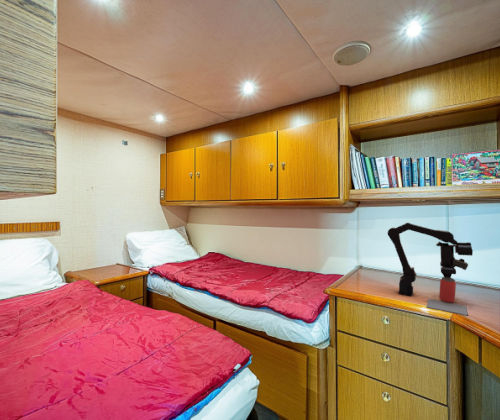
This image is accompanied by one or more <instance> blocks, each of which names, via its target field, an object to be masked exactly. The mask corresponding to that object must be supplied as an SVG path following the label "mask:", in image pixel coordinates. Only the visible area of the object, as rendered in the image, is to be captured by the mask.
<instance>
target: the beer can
mask: <svg viewBox="0 0 500 420" xmlns="http://www.w3.org/2000/svg"><path fill="white" fill-rule="evenodd" d="M456 283H457V282H456V280H455V279H454V278H452V277H451V278H449V277H444V276H443V277H441V279H440V281H439V295H438V296H439V299H440V301H443V302H448V303H455V301H456V289H457V284H456Z"/></svg>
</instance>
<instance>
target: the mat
mask: <svg viewBox="0 0 500 420" xmlns="http://www.w3.org/2000/svg"><path fill="white" fill-rule="evenodd" d="M426 308H427V309H432V310H436V311H441V312H446V313H450V314H456V315H459V316H460V315H462V316H464V317H465V316H466V317H469V311H468V306H467V305H464V304H459V303H455V302H453V303H448V302H444V301H442V300H439V299H438V300H437V299H432V298H428V299H427V303H426Z"/></svg>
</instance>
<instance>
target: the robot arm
mask: <svg viewBox="0 0 500 420" xmlns="http://www.w3.org/2000/svg"><path fill="white" fill-rule="evenodd" d="M406 231H413V232H414V233H419V234H423V235H427V236H429V237H433V238H436V239H437V240H440V241H438V242H437V243H436V244H435V246H436V247H440V249H439V250H440V262H439V263H440V264H439V265H440V273H441V274H442V276H443V277H449V278H452V275H456V274H457V270H456V267H457V268H459V269H461V270H464V271H466V270H467V268H468V267H469V263H467V262H465V259H464V258H459V259H457V258H455V254H457V255H458V256H469V257H470V256H471V257H472V256H473V253H474V252H473V247H472V242H458V241H457V240H456V239H455V237H454V233H452V232H451V231H449V230H440V229H433V228H428V227H425V226H421V225H417V224H414V223H410V222H405V223H404V224H401V225H399V226H397V227H391V228H389V229H388V230H387V236H388V237H389V239H390V241H391V242H392V244H393V246H394V248H395V251H396V254H397V256H398V259H399V262H400V264H401V267H402V274H403V275H401V276H400V278H399V282H398V295H404V296H408V297H412V295H414V286H413V283H415V281H416V279H417V272H416V271H415V267H414V266H413V267H412V266H411V265H410V263H409V261H408V257H407V255H406V253H405V250H404V247H403V244H402V241H401V237H400V236H401V235H400V234H402V233H404V232H406ZM449 243H450V244H449Z"/></svg>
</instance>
